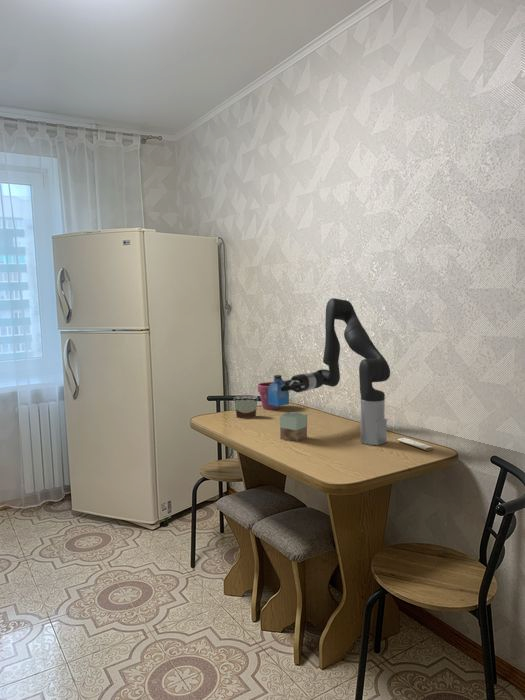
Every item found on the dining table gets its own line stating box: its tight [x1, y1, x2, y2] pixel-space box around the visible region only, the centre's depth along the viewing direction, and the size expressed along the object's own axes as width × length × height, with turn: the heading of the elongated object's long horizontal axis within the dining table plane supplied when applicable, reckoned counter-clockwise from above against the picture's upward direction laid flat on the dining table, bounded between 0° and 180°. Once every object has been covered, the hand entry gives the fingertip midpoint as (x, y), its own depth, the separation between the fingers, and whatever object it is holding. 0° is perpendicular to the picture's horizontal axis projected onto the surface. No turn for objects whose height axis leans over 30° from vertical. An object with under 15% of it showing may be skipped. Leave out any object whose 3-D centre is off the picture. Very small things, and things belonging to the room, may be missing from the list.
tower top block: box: [279, 411, 308, 430], centre depth 211 cm, size 8×8×5 cm
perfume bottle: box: [268, 374, 290, 407], centre depth 213 cm, size 6×6×12 cm
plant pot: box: [257, 381, 281, 411], centre depth 269 cm, size 14×14×13 cm
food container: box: [233, 394, 259, 419], centre depth 252 cm, size 12×6×10 cm, turn 84°
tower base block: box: [279, 426, 308, 443], centre depth 211 cm, size 8×8×5 cm
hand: (275, 387), depth 212 cm, fingers closed on perfume bottle, 6 cm apart
